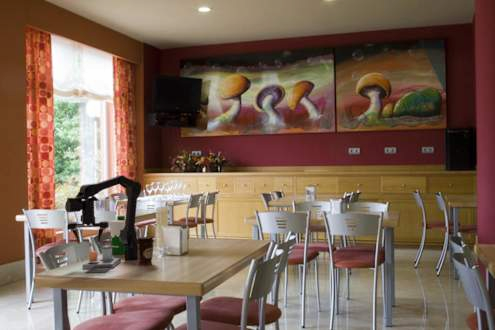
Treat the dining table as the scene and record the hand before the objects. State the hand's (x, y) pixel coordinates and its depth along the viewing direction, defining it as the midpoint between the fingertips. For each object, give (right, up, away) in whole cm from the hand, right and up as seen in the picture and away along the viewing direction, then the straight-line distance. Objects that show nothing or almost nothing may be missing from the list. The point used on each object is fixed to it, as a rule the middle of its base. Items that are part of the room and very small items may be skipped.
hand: (88, 243), depth 262 cm
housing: (+6, -11, 0) cm, 13 cm away
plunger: (+3, -8, -4) cm, 9 cm away
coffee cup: (+27, -11, 0) cm, 29 cm away
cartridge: (+8, -11, +4) cm, 14 cm away
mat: (+8, -11, -13) cm, 19 cm away
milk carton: (+7, -11, +34) cm, 37 cm away
